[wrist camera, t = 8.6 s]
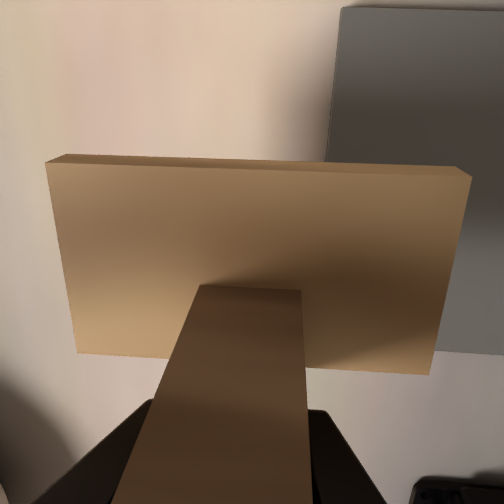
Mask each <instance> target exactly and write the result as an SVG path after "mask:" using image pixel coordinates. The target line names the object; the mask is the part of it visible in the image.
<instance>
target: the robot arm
mask: <svg viewBox="0 0 504 504" xmlns="http://www.w3.org/2000/svg"><path fill="white" fill-rule="evenodd" d="M152 401H153V399H149V400H147V401H145V402H144V403H143V404H142V405H141V406H140V407H139V408H138V409H136V410H135V411H134V412H133V413H132V414H131V415H130V416H129V417H128V418H126V419H125V420H124V421H123V422H122V423H121V424H120V425H119V426H117V427H116V428H115V429H114V430H113V431H112V432H111V433H110V434H108V435H107V436H106V437H105V438H104V439H103V440H102V441H101V442H100V443H98V444H97V445H96V446H95V447H94V448H93V449H92V450H91V451H89V452H88V453H87V454H86V455H85V456H84V457H83V458H82V459H80V460H79V461H78V462H77V463H76V464H75V465H74V466H73V467H72V468H70V469H69V470H68V471H67V472H66V473H65V474H64V475H63V476H61V477H60V478H59V479H58V480H57V481H56V482H55V483H54V484H52V485H51V486H50V487H49V488H48V489H47V490H46V491H45V492H44V493H42V494H41V495H40V496H39V497H38V498H37V499H36V500H35V501H33V502H32V503H31V504H111V502H112V500H113V497H114V495H115V492H116V490H117V487H118V485H119V482H120V480H121V477H122V475H123V472H124V470H125V468H126V465H127V463H128V460H129V458H130V455H131V453H132V450H133V448H134V445H135V443H136V440H137V438H138V435H139V433H140V431H141V428H142V426H143V423H144V421H145V418H146V416H147V413H148V411H149V408H150V406H151V403H152ZM308 426H309V444H310V462H311V481H312V499H313V504H387V503H386V501H385V500H384V498H383V497H382V495H381V494H380V492H379V491H378V489H377V487H376V486H375V484H374V483H373V481H372V480H371V478H370V477H369V475H368V474H367V472H366V471H365V469H364V468H363V466H362V464H361V463H360V461H359V460H358V458H357V457H356V455H355V454H354V452H353V451H352V449H351V448H350V446H349V445H348V443H347V442H346V440H345V438H344V437H343V435H342V434H341V432H340V431H339V429H338V428H337V426H336V425H335V423H334V422H333V420H332V419H331V417H330V415H329V414H328V413H327V412H326V411H324V410H311V409H308ZM409 504H504V487H495V486H483V485H472V484H460V483H449V482H437V481H426V480H425V481H419V482H417V483H415V484H414V486H413V489H412V493H411V496H410V500H409Z"/></svg>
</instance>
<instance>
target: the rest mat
mask: <svg viewBox="0 0 504 504" xmlns="http://www.w3.org/2000/svg"><path fill="white" fill-rule="evenodd" d="M326 162H333V163H364V164H395V165H426V166H455V167H457V168H458V169H460V170H462V171H463V172H465V173H467V174H468V175H470V176H472V180H471V185H470V190H469V194H468V199H467V203H466V208H465V212H464V217H463V221H462V226H461V231H460V235H459V240H458V244H457V249H456V253H455V258H454V263H453V267H452V272H451V276H450V281H449V285H448V290H447V294H446V299H445V304H444V308H443V313H442V317H441V322H440V326H439V331H438V335H437V340H436V345H435V349H434V351H448V352H462V353H476V354H490V355H504V11H473V10H438V9H402V8H367V7H342V8H341V12H340V22H339V32H338V42H337V52H336V62H335V72H334V82H333V92H332V102H331V112H330V122H329V132H328V142H327V152H326Z"/></svg>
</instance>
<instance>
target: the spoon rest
mask: <svg viewBox="0 0 504 504" xmlns="http://www.w3.org/2000/svg"><path fill="white" fill-rule="evenodd" d="M0 504H9V503H8V500H7V497H6V494H5V492H4V490H3V488H2V486H1V483H0Z"/></svg>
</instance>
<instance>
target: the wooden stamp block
mask: <svg viewBox="0 0 504 504" xmlns="http://www.w3.org/2000/svg"><path fill="white" fill-rule="evenodd" d="M45 166H46V172H47V178H48V184H49V190H50V195H51V201H52V207H53V213H54V219H55V225H56V230H57V236H58V242H59V248H60V254H61V260H62V265H63V271H64V277H65V283H66V289H67V295H68V300H69V306H70V312H71V318H72V324H73V330H74V335H75V341H76V347H77V353H82V354H98V355H114V356H130V357H146V358H162V359H169V361H168V364H167V366H166V369H165V371H164V374H163V376H162V379H161V381H160V384H159V386H158V389H157V391H156V394H155V396H154V398H153V401H152V403H151V406H150V408H149V411H148V413H147V416H146V418H145V421H144V423H143V426H142V428H141V431H140V433H139V435H138V438H137V440H136V443H135V445H134V448H133V450H132V453H131V455H130V458H129V460H128V463H127V465H126V468H125V470H124V472H123V475H122V477H121V480H120V482H119V485H118V487H117V490H116V492H115V495H114V497H113V500H112V502H111V504H313V499H312V481H311V462H310V444H309V426H308V408H307V390H306V371H305V367H307V368H323V369H339V370H355V371H371V372H387V373H403V374H419V375H429V372H430V367H431V363H432V358H433V354H434V349H435V345H436V340H437V335H438V331H439V326H440V322H441V317H442V313H443V308H444V304H445V299H446V294H447V290H448V285H449V281H450V276H451V272H452V267H453V263H454V258H455V253H456V249H457V244H458V240H459V235H460V231H461V226H462V221H463V217H464V212H465V208H466V203H467V199H468V194H469V190H470V185H471V180H472V176H470V175H468V174H467V173H465V172H463V171H462V170H460V169H458V168H457V167H455V166H426V165H395V164H364V163H333V162H302V161H271V160H240V159H208V158H177V157H146V156H115V155H84V154H65V155H63V156H60V157H58V158H55V159H53V160H50V161H48V162H45Z"/></svg>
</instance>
